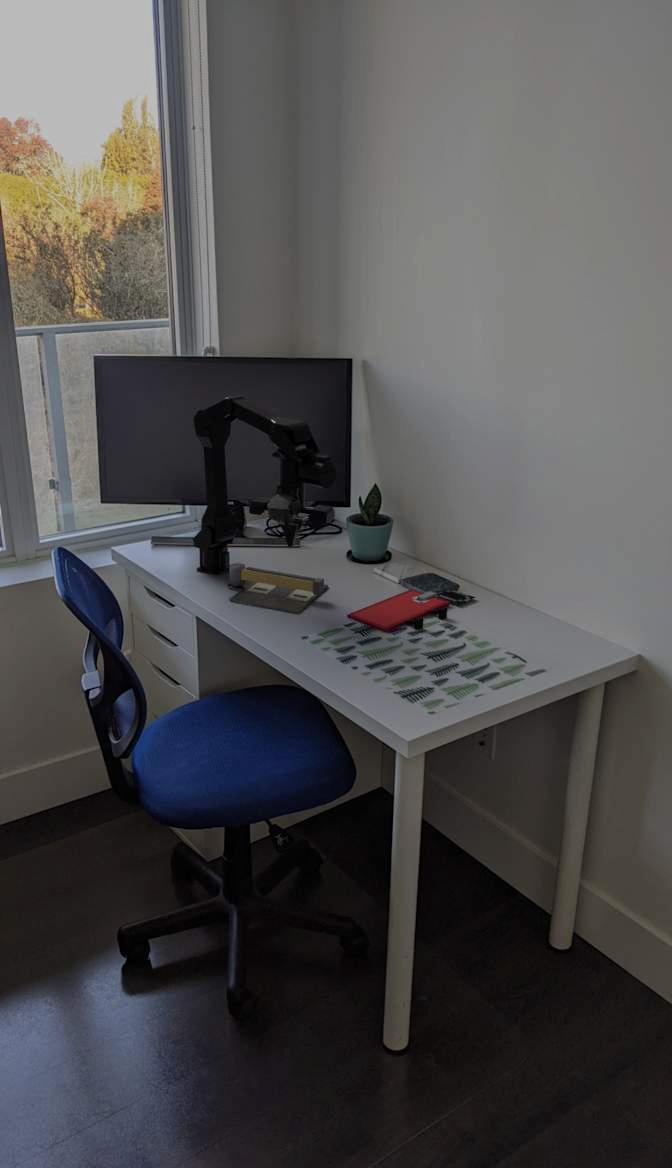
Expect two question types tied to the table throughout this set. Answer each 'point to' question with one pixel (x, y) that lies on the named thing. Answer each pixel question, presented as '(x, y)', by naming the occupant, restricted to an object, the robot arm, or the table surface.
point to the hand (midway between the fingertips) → (290, 546)
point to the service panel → (273, 596)
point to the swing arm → (274, 578)
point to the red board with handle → (408, 609)
